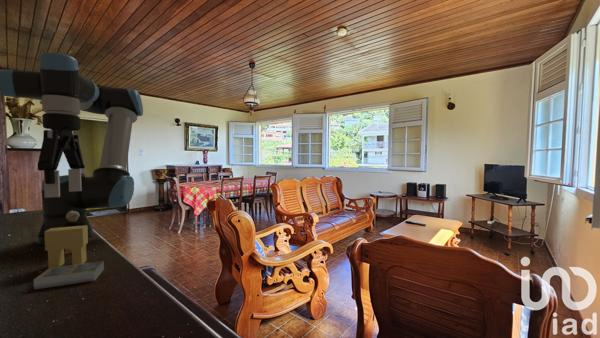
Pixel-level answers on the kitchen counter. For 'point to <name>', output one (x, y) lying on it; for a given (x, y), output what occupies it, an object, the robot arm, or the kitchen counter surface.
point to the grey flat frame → (69, 274)
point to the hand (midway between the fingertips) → (65, 194)
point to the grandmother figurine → (72, 219)
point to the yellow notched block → (66, 244)
